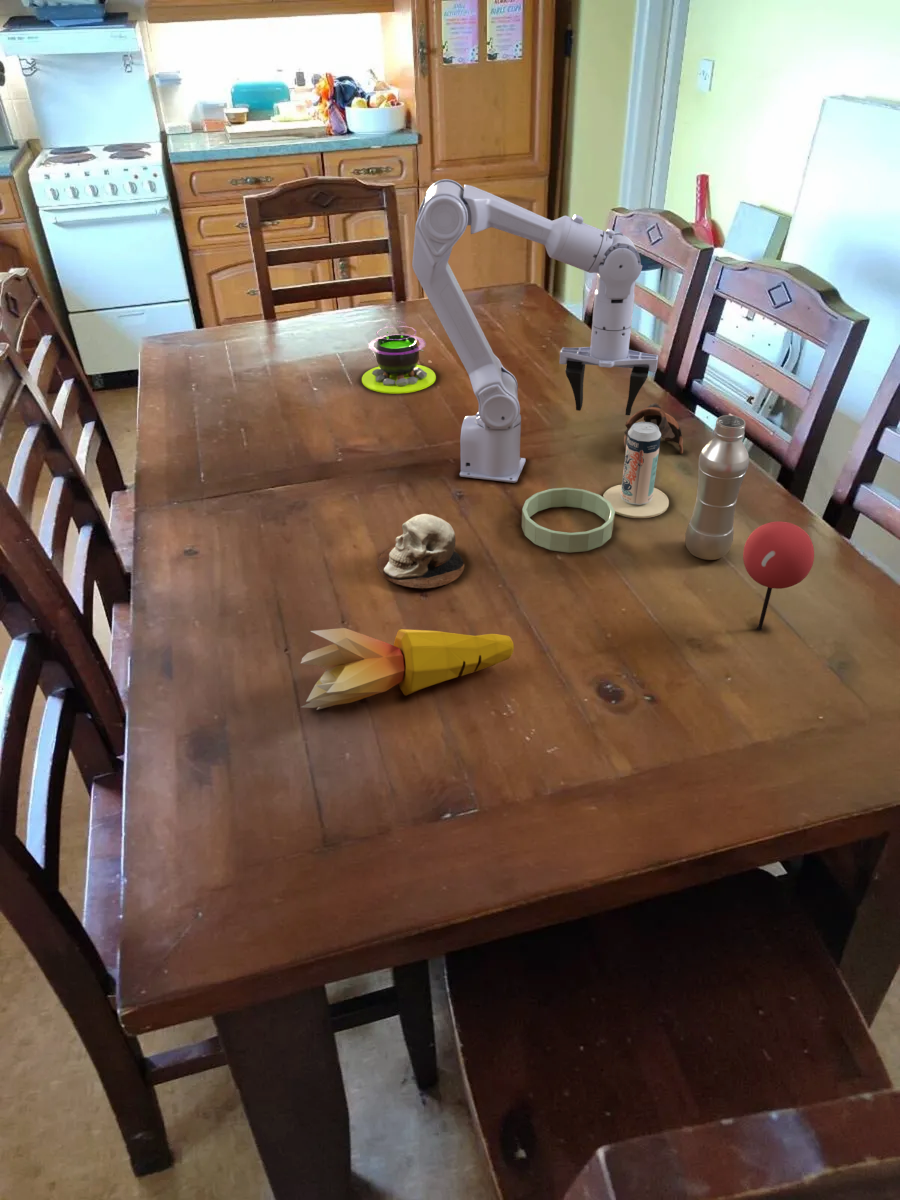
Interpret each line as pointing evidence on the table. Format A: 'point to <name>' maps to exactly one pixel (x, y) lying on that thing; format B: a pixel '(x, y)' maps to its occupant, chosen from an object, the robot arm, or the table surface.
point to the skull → (422, 554)
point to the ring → (565, 539)
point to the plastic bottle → (718, 490)
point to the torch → (397, 662)
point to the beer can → (640, 463)
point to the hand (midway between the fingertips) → (603, 410)
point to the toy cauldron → (398, 365)
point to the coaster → (637, 511)
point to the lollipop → (778, 557)
